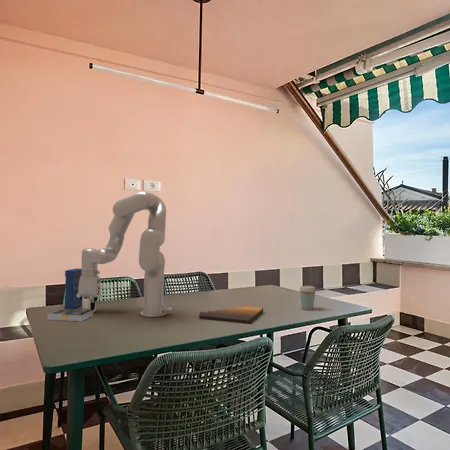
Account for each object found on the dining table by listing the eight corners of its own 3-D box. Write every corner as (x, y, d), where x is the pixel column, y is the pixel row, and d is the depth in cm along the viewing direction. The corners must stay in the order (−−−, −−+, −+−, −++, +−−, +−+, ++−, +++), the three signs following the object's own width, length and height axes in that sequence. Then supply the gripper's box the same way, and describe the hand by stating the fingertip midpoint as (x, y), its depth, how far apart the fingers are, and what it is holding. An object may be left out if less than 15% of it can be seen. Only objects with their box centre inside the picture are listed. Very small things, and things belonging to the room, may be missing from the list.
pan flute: (198, 319, 180) (249, 325, 171) (198, 312, 180) (249, 317, 171) (217, 309, 203) (263, 313, 195) (217, 302, 203) (263, 306, 195)
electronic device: (72, 309, 196) (73, 270, 196) (63, 308, 197) (64, 270, 197) (83, 305, 205) (83, 268, 205) (74, 305, 206) (75, 268, 206)
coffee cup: (317, 308, 205) (317, 286, 205) (313, 311, 198) (313, 288, 198) (301, 306, 209) (301, 285, 209) (297, 309, 201) (297, 287, 201)
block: (95, 310, 194) (95, 296, 194) (88, 314, 186) (88, 299, 186) (89, 310, 195) (90, 296, 195) (82, 313, 187) (82, 299, 187)
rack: (93, 315, 183) (93, 308, 183) (81, 321, 172) (81, 313, 172) (60, 314, 185) (60, 306, 185) (46, 319, 174) (47, 312, 174)
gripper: (108, 272, 193) (107, 309, 193) (77, 272, 195) (77, 307, 195) (101, 274, 186) (101, 312, 186) (70, 273, 188) (69, 311, 188)
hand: (89, 309), depth 190 cm, fingers closed on block, 3 cm apart
